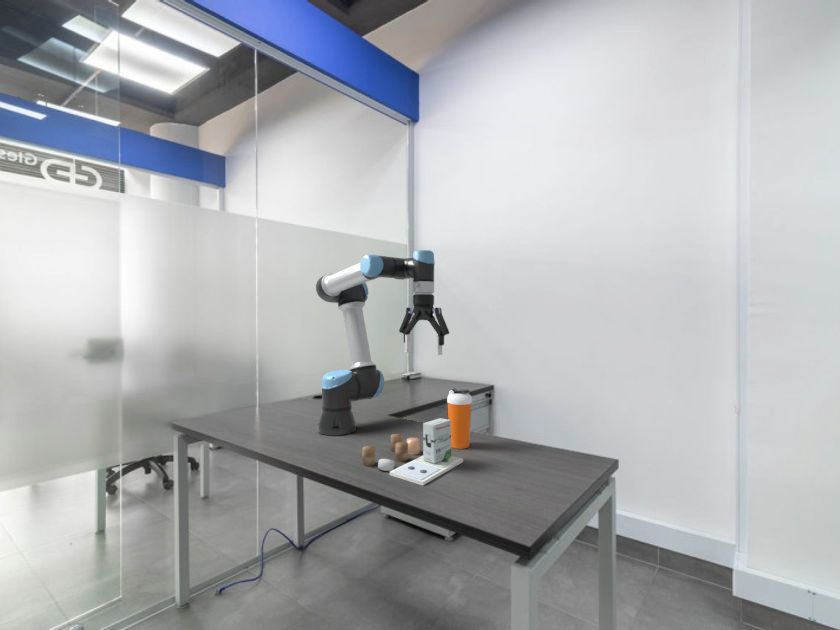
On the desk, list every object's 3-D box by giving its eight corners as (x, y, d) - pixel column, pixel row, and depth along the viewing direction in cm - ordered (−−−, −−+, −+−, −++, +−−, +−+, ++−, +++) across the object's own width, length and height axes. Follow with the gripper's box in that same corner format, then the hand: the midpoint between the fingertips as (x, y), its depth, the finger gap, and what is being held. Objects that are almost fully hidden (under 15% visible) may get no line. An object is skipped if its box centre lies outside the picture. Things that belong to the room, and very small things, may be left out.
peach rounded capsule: (403, 453, 140) (404, 439, 140) (411, 449, 144) (411, 436, 144) (414, 455, 137) (414, 442, 137) (422, 452, 141) (422, 439, 141)
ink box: (440, 453, 136) (440, 417, 136) (451, 456, 133) (452, 419, 132) (422, 460, 130) (422, 422, 129) (434, 464, 126) (434, 425, 126)
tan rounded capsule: (359, 464, 129) (359, 448, 129) (366, 460, 133) (366, 445, 133) (370, 467, 127) (370, 450, 127) (377, 462, 131) (377, 446, 131)
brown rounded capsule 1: (388, 450, 142) (388, 436, 142) (395, 447, 146) (395, 433, 146) (397, 453, 140) (397, 438, 140) (404, 449, 143) (404, 435, 143)
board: (389, 475, 121) (389, 470, 121) (431, 454, 139) (431, 449, 139) (422, 485, 114) (422, 480, 114) (463, 461, 132) (463, 457, 132)
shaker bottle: (470, 450, 143) (471, 392, 142) (445, 448, 144) (445, 391, 144) (472, 442, 151) (473, 387, 151) (448, 440, 153) (448, 386, 153)
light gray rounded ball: (386, 464, 130) (387, 457, 130) (397, 469, 126) (398, 462, 126) (374, 466, 126) (375, 460, 126) (385, 472, 122) (386, 465, 123)
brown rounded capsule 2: (396, 462, 131) (396, 447, 131) (394, 456, 135) (394, 442, 135) (408, 461, 132) (409, 446, 132) (406, 456, 136) (406, 441, 136)
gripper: (389, 294, 152) (389, 352, 152) (447, 293, 137) (447, 356, 138) (402, 295, 158) (402, 350, 158) (459, 293, 144) (458, 355, 144)
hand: (423, 353), depth 148 cm, fingers open, 13 cm apart
